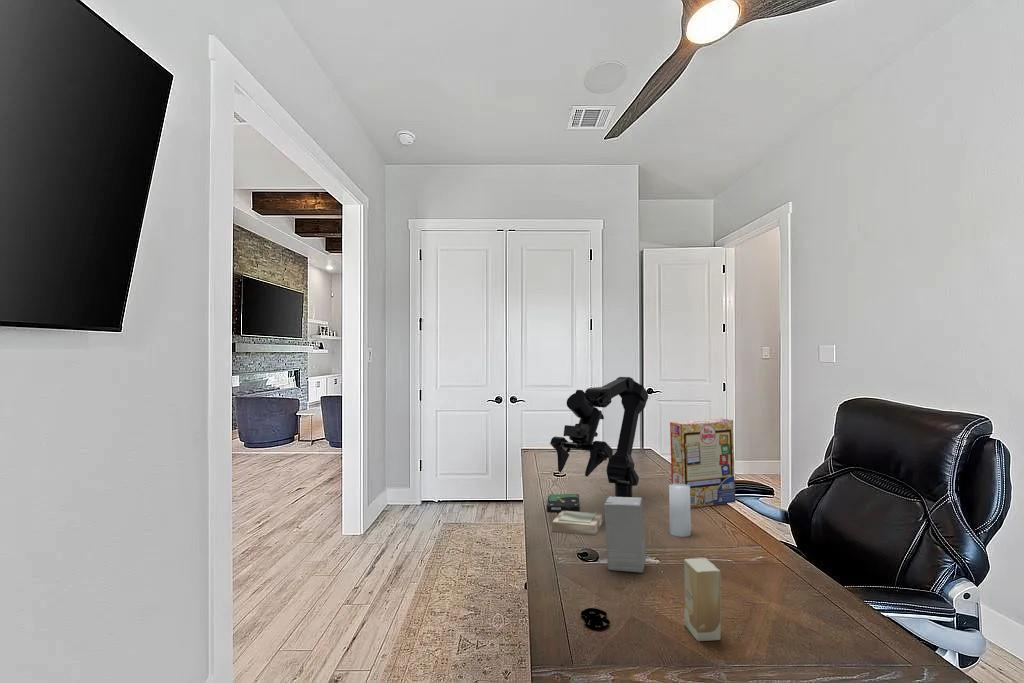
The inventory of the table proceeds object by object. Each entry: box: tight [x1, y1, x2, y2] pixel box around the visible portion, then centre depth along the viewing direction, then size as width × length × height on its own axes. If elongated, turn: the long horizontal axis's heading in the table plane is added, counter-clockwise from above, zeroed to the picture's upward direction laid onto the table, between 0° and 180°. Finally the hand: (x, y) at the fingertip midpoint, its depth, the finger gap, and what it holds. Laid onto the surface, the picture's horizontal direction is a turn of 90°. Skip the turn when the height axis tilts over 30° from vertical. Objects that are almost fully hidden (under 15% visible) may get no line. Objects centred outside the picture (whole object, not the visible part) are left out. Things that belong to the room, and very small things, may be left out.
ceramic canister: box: [668, 483, 692, 538], centre depth 158 cm, size 6×6×13 cm
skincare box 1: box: [603, 495, 647, 574], centre depth 134 cm, size 8×7×16 cm
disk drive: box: [546, 493, 581, 514], centre depth 186 cm, size 10×3×15 cm
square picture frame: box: [551, 510, 603, 536], centre depth 165 cm, size 12×12×3 cm
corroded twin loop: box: [580, 607, 611, 631], centre depth 108 cm, size 5×8×1 cm, turn 3°
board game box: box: [669, 417, 736, 509], centre depth 187 cm, size 20×6×27 cm, turn 108°
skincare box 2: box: [683, 557, 722, 642], centre depth 103 cm, size 6×4×12 cm
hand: (572, 473), depth 167 cm, fingers open, 9 cm apart
